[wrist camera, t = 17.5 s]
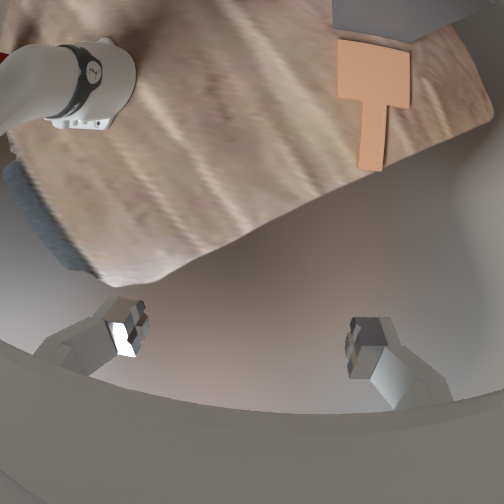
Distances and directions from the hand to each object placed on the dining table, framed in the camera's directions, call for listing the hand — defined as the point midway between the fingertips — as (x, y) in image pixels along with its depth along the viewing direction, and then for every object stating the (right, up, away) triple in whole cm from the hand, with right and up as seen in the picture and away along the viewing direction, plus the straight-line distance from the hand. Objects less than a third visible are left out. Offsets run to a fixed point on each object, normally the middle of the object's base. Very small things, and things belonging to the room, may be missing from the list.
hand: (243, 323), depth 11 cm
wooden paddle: (+19, +26, +28) cm, 42 cm away
